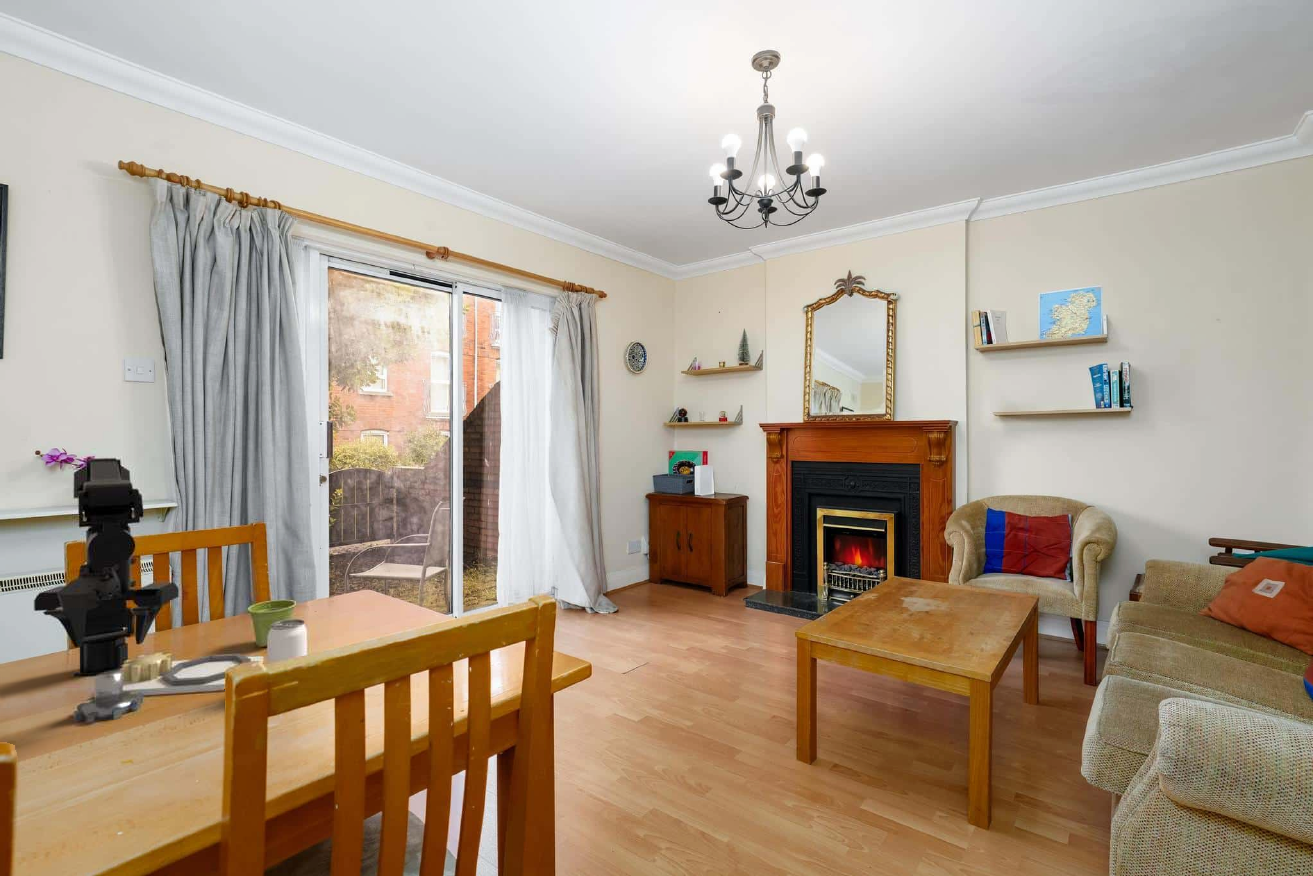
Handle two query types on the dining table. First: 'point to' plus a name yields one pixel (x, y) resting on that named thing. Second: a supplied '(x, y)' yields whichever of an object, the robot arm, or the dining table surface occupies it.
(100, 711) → the planet gear
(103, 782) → the dining table surface
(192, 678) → the plate
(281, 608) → the plant pot
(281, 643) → the can
